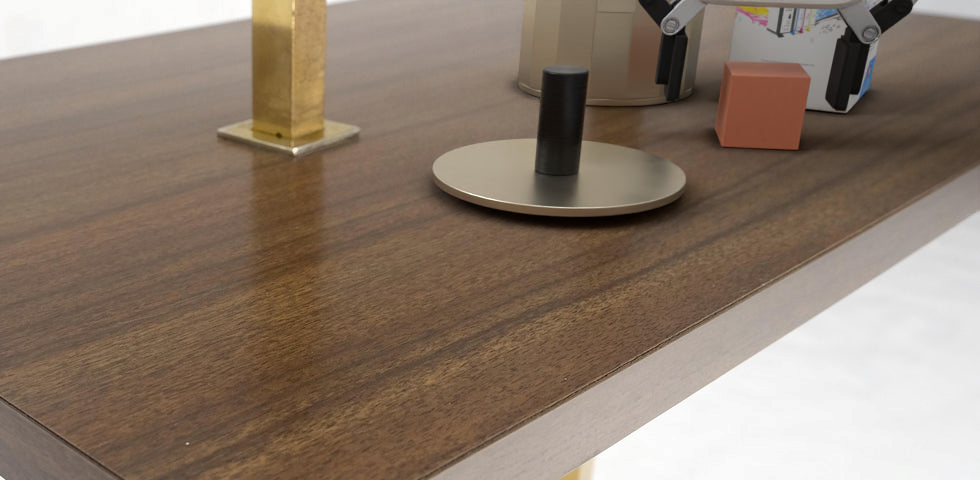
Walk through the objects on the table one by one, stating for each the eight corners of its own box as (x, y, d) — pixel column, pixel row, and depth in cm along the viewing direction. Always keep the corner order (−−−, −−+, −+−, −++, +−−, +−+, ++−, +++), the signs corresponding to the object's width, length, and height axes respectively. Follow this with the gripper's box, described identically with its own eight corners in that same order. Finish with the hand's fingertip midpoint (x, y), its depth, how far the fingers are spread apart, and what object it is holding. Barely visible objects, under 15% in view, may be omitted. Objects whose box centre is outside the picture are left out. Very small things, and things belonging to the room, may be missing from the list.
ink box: (750, 78, 89) (776, -84, 84) (871, 91, 85) (906, -81, 80) (717, 100, 83) (743, -74, 78) (846, 115, 79) (882, -69, 74)
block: (787, 132, 75) (799, 63, 73) (798, 150, 71) (811, 77, 69) (714, 129, 76) (724, 61, 74) (721, 146, 72) (732, 75, 70)
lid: (674, 161, 69) (690, 48, 66) (693, 236, 57) (713, 102, 55) (444, 151, 72) (450, 42, 70) (417, 219, 60) (422, 92, 58)
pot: (682, 66, 94) (697, -45, 91) (702, 118, 78) (721, -13, 75) (523, 61, 97) (531, -46, 94) (511, 111, 81) (521, -16, 78)
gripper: (959, -203, 67) (888, 96, 74) (643, -204, 70) (606, 81, 78) (1000, -204, 60) (918, 124, 67) (650, -205, 64) (608, 106, 71)
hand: (751, 101), depth 73 cm, fingers open, 9 cm apart
